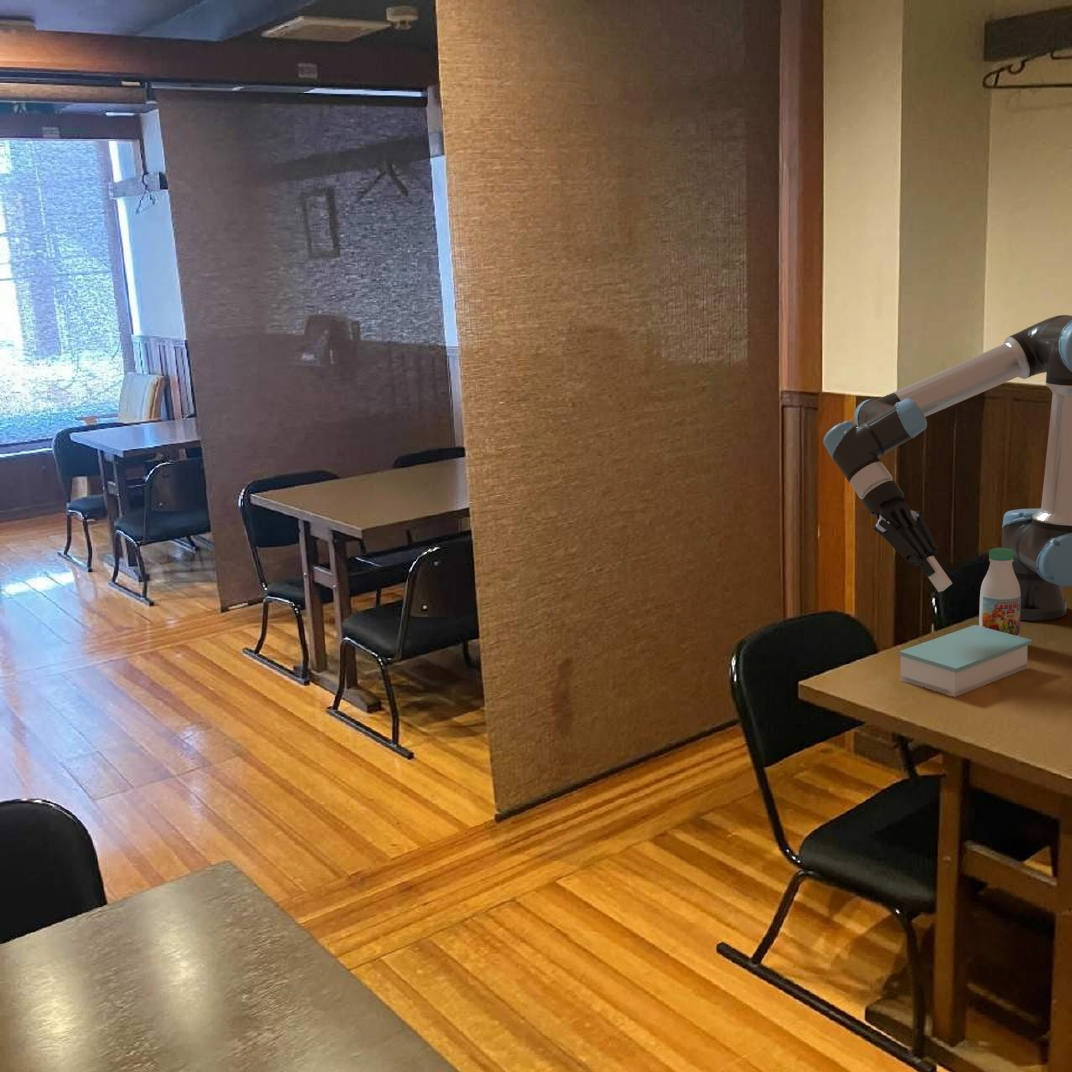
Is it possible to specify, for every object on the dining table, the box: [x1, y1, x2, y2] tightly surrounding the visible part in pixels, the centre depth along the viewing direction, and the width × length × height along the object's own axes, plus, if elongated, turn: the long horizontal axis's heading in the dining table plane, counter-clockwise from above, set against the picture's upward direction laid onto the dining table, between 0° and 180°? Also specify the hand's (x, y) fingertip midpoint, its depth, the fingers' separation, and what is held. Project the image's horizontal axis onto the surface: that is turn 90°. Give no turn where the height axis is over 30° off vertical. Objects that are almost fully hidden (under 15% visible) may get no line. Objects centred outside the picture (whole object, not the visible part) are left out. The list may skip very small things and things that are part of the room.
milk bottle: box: [978, 547, 1021, 637], centre depth 232 cm, size 8×8×20 cm
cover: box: [898, 624, 1033, 673], centre depth 218 cm, size 23×13×1 cm, turn 124°
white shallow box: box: [900, 645, 1029, 698], centre depth 219 cm, size 22×12×5 cm, turn 124°
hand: (945, 587), depth 220 cm, fingers closed
